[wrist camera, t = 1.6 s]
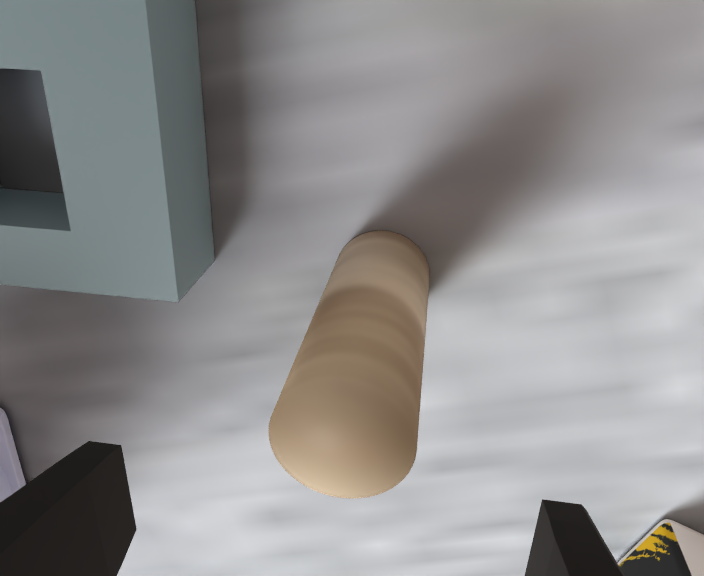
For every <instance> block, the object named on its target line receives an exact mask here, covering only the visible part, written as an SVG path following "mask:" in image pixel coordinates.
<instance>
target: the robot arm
mask: <svg viewBox="0 0 704 576" xmlns="http://www.w3.org/2000/svg"><path fill="white" fill-rule="evenodd" d="M135 531H136V525H135V519H134V514H133V508H132V502H131V497H130V491H129V486H128V480H127V475H126V469H125V464H124V458H123V453H122V447H121V445H115V444H107V443H99V442H92V441H88V442H87V443H85V444H84V445H82V446H81V447H79V448H78V449H76V450H75V451H73V452H72V453H70V454H69V455H67V456H66V457H64V458H63V459H62V460H60V461H59V462H57V463H56V464H54V465H53V466H52V467H50V468H49V469H47V470H46V471H44V472H43V473H42V474H40V475H39V476H37V477H36V478H35V479H33V480H32V481H30V482H29V483H27V484H26V483H25V479H24V476H23V472H22V468H21V465H20V461H19V458H18V454H17V451H16V447H15V443H14V440H13V436H12V433H11V429H10V425H9V422H8V418H7V415H6V413H5V411H4V410H3V409H2V408H0V576H117V574H118V571H119V569H120V567H121V565H122V563H123V560H124V558H125V555H126V553H127V551H128V548H129V546H130V543H131V541H132V539H133V536H134V534H135ZM525 576H625V575H624V573H623V572H622V570H621V568H620V567H619V565H618V564H617V562H616V560H615V559H614V557H613V555H612V554H611V552H610V550H609V549H608V547H607V545H606V544H605V542H604V540H603V538H602V537H601V535H600V533H599V531H598V530H597V528H596V526H595V525H594V523H593V521H592V519H591V518H590V516H589V514H588V512H587V511H586V509H585V508H584V507H583V506H582V505H581V504H573V503H565V502H558V501H550V500H542V503H541V507H540V512H539V516H538V520H537V525H536V529H535V533H534V538H533V542H532V547H531V551H530V555H529V560H528V564H527V568H526V573H525Z"/></svg>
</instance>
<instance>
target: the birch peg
mask: <svg viewBox="0 0 704 576" xmlns="http://www.w3.org/2000/svg"><path fill="white" fill-rule="evenodd" d="M429 277H430V273H429V267H428V263H427V260H426V258H425V256H424V254H423V253H422V251H421V250H420V249H419V247H418V246H417V245H416V244H415V243H413V242H412V241H411V240H409V239H408V238H406V237H404V236H402V235H400V234H397V233H394V232H389V231H371V232H367V233H364V234H361V235H359V236H357V237H355V238H354V239H352V240H351V241H350V242H349V243H348V244H347V245H346V246H345V247H344V248H343V249H342V251H341V253H340V254H339V257H338V259H337V261H336V264H335V266H334V268H333V271H332V273H331V276H330V278H329V280H328V283H327V285H326V287H325V290H324V292H323V295H322V297H321V299H320V302H319V304H318V306H317V309H316V311H315V313H314V316H313V318H312V321H311V323H310V325H309V328H308V330H307V332H306V335H305V337H304V340H303V342H302V344H301V347H300V349H299V351H298V354H297V356H296V359H295V361H294V363H293V366H292V368H291V370H290V373H289V375H288V378H287V380H286V382H285V385H284V387H283V389H282V392H281V394H280V397H279V399H278V401H277V404H276V406H275V408H274V411H273V413H272V416H271V418H270V423H269V440H270V444H271V448H272V450H273V452H274V455H275V457H276V458H277V460H278V462H279V463H280V464H281V466H282V467H283V468H284V469H285V470H286V471H287V472H288V473H289V474H290V475H291V476H292V477H293V478H294V479H296V480H297V481H298V482H300V483H302V484H303V485H305V486H306V487H308V488H310V489H312V490H315V491H317V492H320V493H322V494H326V495H330V496H334V497H340V498H364V497H370V496H374V495H377V494H380V493H383V492H385V491H387V490H389V489H391V488H393V487H394V486H396V485H397V484H398V483H399V482H401V481H402V480H403V479H404V478H405V476H406V475H407V474H408V473H409V471H410V469H411V468H412V466H413V463H414V460H415V457H416V451H417V438H418V425H419V412H420V398H421V385H422V372H423V358H424V345H425V332H426V319H427V305H428V292H429Z"/></svg>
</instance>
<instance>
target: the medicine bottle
mask: <svg viewBox="0 0 704 576" xmlns="http://www.w3.org/2000/svg"><path fill="white" fill-rule="evenodd" d="M617 564H618V565H619V567H620V568H621V570H622V572H623V573H624V575H625V576H704V535H703V534H701V533H699V532H697V531H694V530H692V529H690V528H688V527H686V526H684V525H682V524H679V523H677V522H675V521H673V520H669V519H665V520H662V521H661V522H659V523H658V524H657V525H656V526H655V527H654V528H653V529H652V530H651V531H650V532H649V533H648V534H647V535H646V536H645V537H644V538H643V539H641V540H640V541H639V542H638V543H637V544H636V545H635V546H634V547H633V548H632V549H631V550H630V551H629V552H628V553H627V554H626V555H625V556H624V557H623V558H622V559H621V560H620V561H619V562H618V563H617Z"/></svg>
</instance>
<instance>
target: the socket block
mask: <svg viewBox="0 0 704 576" xmlns="http://www.w3.org/2000/svg"><path fill="white" fill-rule="evenodd" d="M0 68H5V69H24V70H41V74H42V80H43V85H44V90H45V96H46V101H47V106H48V112H49V117H50V122H51V128H52V133H53V138H54V144H55V149H56V154H57V160H58V165H59V170H60V176H61V181H62V186H63V192H64V193H54V192H41V191H29V190H16V189H3V188H2V187H1V183H0V285H8V286H18V287H28V288H38V289H49V290H59V291H69V292H79V293H89V294H99V295H109V296H119V297H129V298H140V299H150V300H160V301H170V302H179V301H180V300H181V299H182V298H183V296H184V295H185V294H186V293H187V292H188V291H189V289H190V288H191V287H192V286H193V285H194V284H195V283H196V281H197V280H198V279H199V278H200V277H201V276H202V275H203V273H204V272H205V271H206V270H207V269H208V268H209V266H210V265H211V264H212V263H213V262H214V261H215V256H214V243H213V230H212V217H211V204H210V191H209V178H208V164H207V151H206V138H205V125H204V112H203V99H202V86H201V73H200V60H199V47H198V34H197V20H196V7H195V0H0Z"/></svg>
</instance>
